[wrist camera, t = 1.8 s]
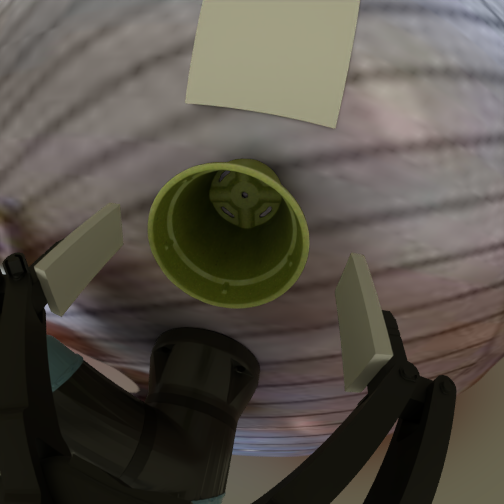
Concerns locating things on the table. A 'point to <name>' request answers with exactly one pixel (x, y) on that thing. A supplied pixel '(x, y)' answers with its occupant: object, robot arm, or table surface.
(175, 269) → the plant pot
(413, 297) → the table surface
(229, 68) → the plate
